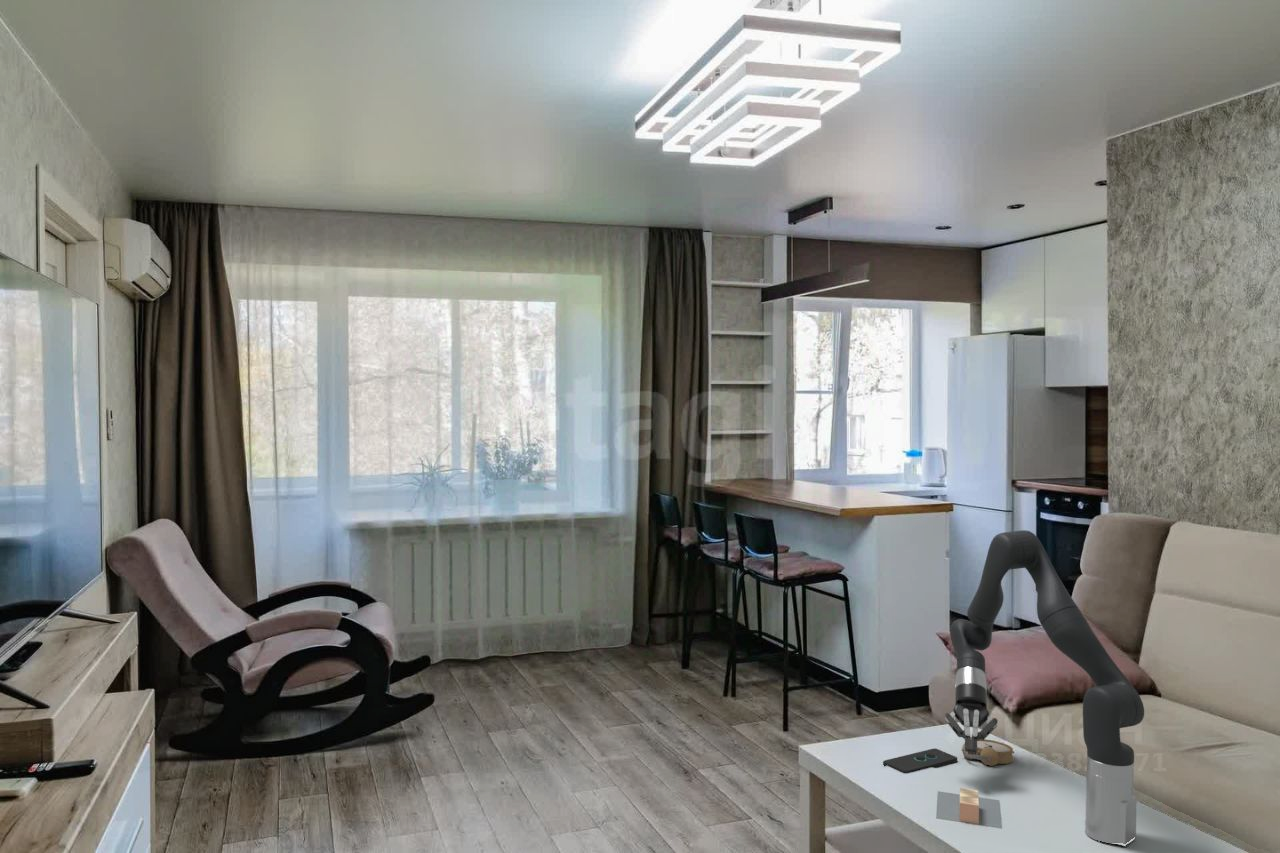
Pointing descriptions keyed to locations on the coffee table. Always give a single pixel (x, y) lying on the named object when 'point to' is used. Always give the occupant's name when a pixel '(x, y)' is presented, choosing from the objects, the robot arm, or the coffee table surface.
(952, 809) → the rubber mat
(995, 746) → the alarm clock
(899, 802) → the coffee table surface
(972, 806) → the birch block
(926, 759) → the smart home device
